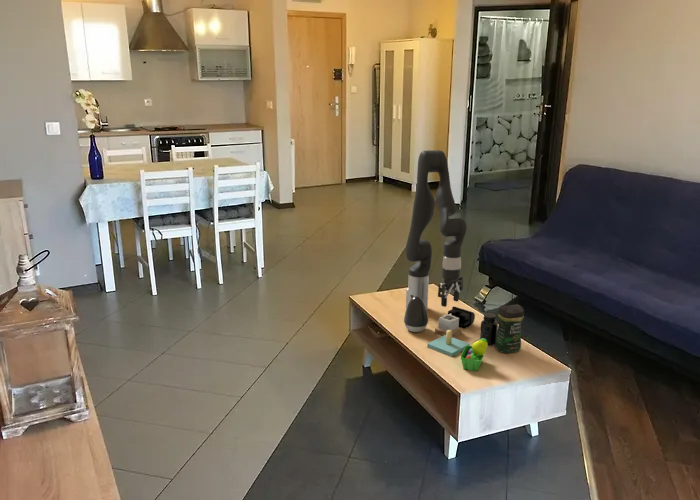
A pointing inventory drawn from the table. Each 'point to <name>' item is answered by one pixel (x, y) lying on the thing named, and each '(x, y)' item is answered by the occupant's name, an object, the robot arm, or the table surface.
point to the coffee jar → (509, 328)
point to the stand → (442, 333)
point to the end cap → (463, 316)
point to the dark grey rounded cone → (416, 315)
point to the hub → (448, 344)
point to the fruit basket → (474, 355)
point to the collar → (448, 323)
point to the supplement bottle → (489, 328)
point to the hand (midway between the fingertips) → (450, 303)
